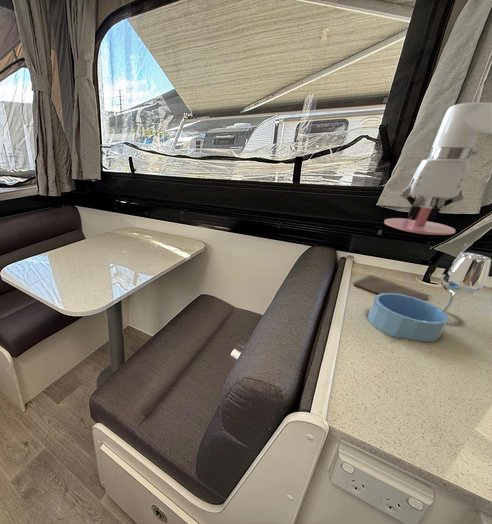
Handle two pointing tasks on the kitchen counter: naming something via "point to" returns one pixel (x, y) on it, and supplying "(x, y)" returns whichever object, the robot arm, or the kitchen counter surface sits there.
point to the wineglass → (465, 275)
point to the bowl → (407, 317)
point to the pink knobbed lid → (420, 224)
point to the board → (386, 288)
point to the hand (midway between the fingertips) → (420, 219)
